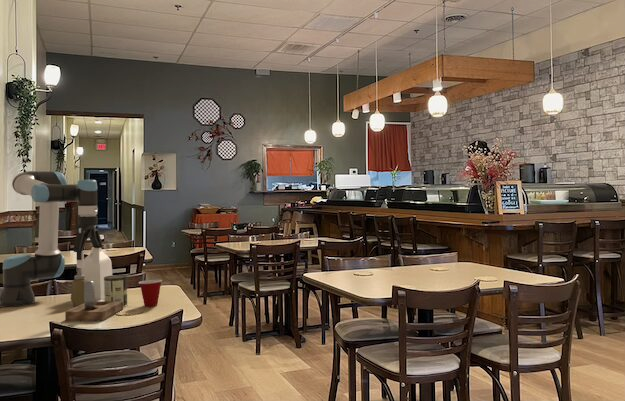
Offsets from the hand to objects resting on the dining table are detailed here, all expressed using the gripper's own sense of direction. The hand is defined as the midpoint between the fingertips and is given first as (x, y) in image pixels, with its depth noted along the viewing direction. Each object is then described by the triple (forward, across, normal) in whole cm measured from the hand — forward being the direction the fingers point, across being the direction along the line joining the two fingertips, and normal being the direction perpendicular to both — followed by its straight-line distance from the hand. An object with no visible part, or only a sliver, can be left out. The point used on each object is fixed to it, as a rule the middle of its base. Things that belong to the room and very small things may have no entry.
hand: (88, 265), depth 218 cm
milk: (+23, +42, +17) cm, 51 cm away
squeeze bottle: (+23, +24, +16) cm, 37 cm away
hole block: (+23, +4, -1) cm, 23 cm away
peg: (+22, 0, -1) cm, 22 cm away
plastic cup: (+23, +24, -18) cm, 38 cm away
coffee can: (+23, +22, -2) cm, 32 cm away
